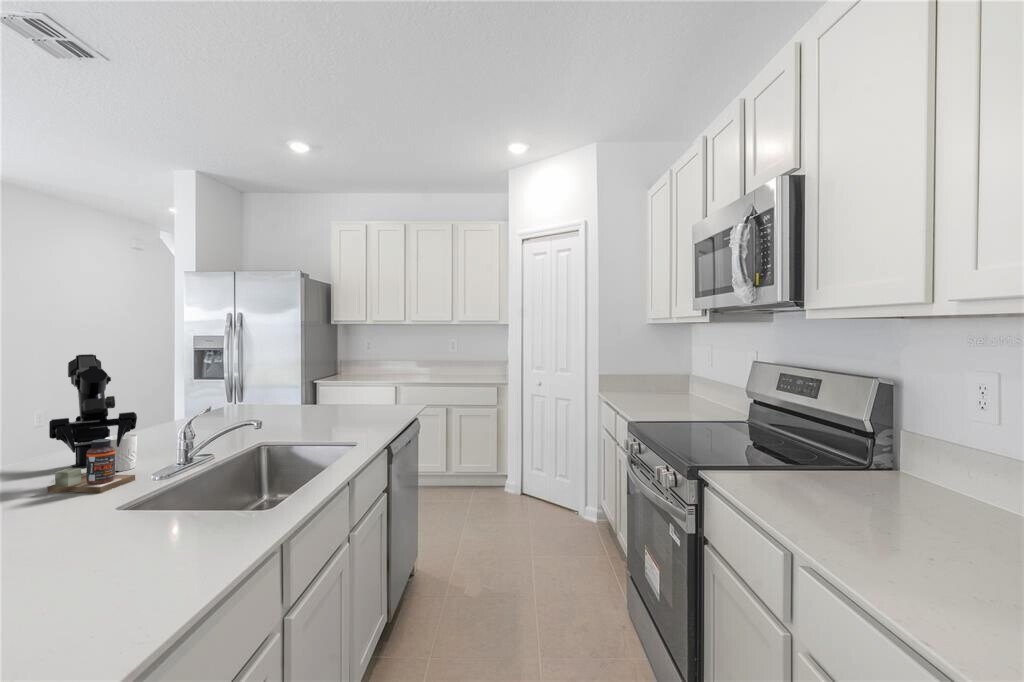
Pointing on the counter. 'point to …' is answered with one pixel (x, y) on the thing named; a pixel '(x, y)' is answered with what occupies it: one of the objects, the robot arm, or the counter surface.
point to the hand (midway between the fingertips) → (96, 448)
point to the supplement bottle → (100, 462)
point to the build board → (84, 482)
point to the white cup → (125, 451)
